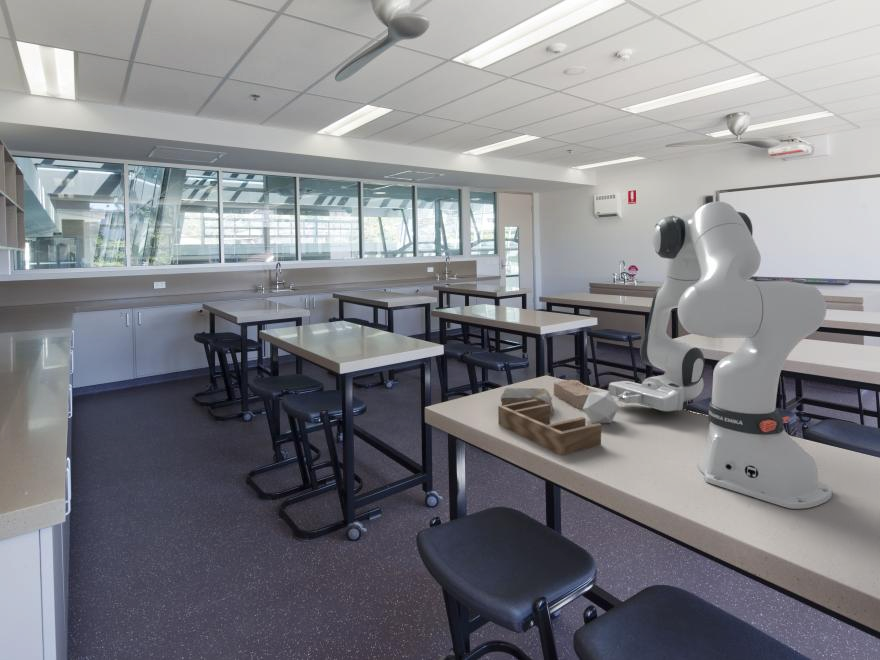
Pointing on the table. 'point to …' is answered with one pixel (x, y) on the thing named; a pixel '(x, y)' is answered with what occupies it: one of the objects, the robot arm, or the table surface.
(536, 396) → the geological specimen
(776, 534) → the table surface
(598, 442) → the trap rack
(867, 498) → the table surface
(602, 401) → the die
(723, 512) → the table surface
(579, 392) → the brick
